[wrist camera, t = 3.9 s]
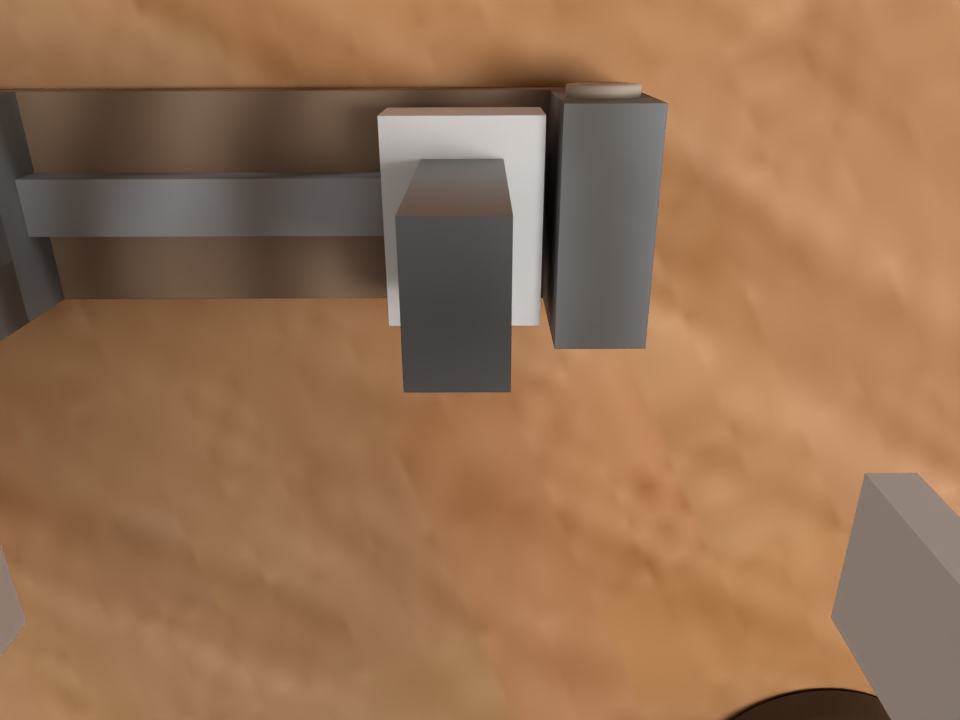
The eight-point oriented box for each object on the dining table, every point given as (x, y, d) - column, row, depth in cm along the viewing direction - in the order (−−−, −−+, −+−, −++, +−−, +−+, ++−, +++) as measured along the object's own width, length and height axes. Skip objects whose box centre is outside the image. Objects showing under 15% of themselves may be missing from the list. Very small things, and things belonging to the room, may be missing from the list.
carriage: (538, 104, 31) (575, 155, 19) (533, 291, 34) (562, 438, 22) (390, 104, 31) (331, 156, 19) (399, 291, 34) (354, 439, 22)
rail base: (629, 73, 32) (669, 85, 25) (613, 286, 36) (645, 348, 29) (-74, 76, 32) (-224, 89, 25) (-14, 288, 36) (-130, 350, 29)
